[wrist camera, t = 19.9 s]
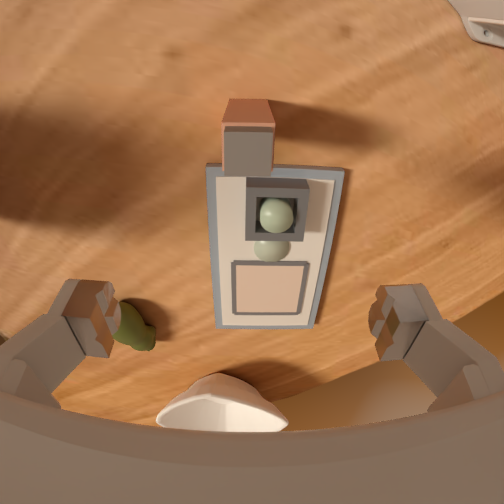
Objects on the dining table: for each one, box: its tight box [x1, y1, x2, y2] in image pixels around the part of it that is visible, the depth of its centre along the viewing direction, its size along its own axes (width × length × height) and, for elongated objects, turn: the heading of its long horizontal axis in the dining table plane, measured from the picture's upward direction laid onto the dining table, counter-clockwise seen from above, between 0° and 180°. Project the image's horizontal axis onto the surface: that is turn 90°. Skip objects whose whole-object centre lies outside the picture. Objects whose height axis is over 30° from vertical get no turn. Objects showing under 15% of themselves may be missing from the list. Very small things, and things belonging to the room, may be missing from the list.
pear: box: [112, 302, 156, 351], centre depth 44 cm, size 6×5×10 cm
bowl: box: [156, 373, 288, 432], centre depth 54 cm, size 21×21×9 cm
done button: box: [259, 197, 293, 233], centre depth 32 cm, size 3×3×2 cm
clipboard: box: [206, 163, 345, 329], centre depth 38 cm, size 14×24×1 cm, turn 179°
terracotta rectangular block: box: [222, 99, 275, 177], centre depth 24 cm, size 4×4×12 cm
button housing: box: [245, 177, 310, 242], centre depth 32 cm, size 6×6×2 cm
